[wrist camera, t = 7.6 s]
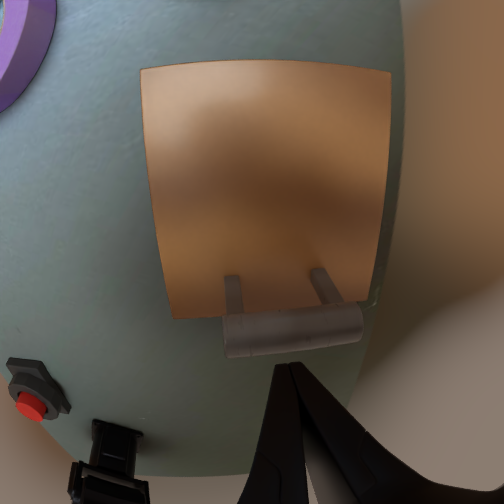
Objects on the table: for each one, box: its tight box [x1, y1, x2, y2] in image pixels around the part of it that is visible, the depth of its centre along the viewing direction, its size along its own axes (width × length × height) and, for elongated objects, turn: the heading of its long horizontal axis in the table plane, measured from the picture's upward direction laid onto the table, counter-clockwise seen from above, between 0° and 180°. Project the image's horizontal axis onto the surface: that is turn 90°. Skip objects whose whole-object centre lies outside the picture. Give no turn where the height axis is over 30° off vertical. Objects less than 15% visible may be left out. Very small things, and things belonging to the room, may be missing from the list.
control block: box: [6, 358, 71, 420], centre depth 24 cm, size 8×6×3 cm
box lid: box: [140, 59, 391, 359], centre depth 11 cm, size 11×10×5 cm
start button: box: [16, 392, 47, 422], centre depth 22 cm, size 3×3×2 cm
